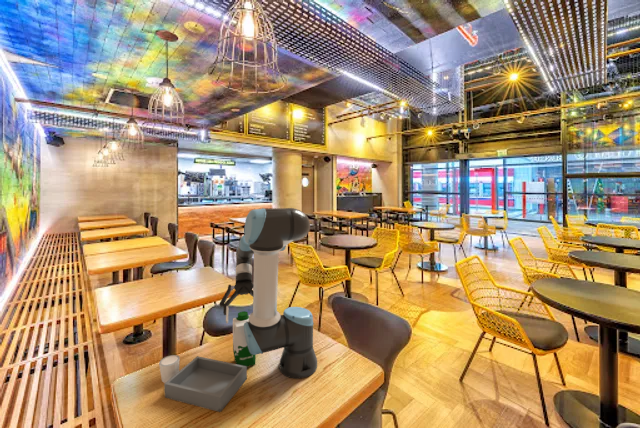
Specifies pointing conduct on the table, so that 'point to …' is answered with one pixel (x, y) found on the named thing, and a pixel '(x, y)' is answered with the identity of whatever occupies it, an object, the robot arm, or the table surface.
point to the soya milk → (241, 341)
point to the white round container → (169, 367)
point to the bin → (206, 383)
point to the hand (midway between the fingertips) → (243, 320)
